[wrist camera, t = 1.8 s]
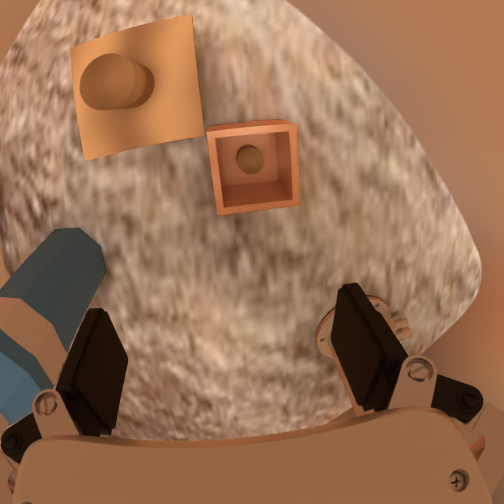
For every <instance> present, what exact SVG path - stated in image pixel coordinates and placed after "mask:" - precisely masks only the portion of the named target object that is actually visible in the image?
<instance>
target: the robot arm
mask: <svg viewBox="0 0 504 504" xmlns="http://www.w3.org/2000/svg"><path fill="white" fill-rule="evenodd" d="M407 326H408V321H407V319H406V318H405V319H401V320H398V321H393V320H392V319H391V312H390V310H389V307H388V306H387V305H386V303H385V302H384V301H382V300H381V299H379V298H376V297H371V296H366V295H365V293H364V292H363V290H362V289H361V287H360V286H359V284H358V283H350V284H344V285H343V286H342V288H340V289H339V290H338V295H337V301H336V308H335V309H333V310H332V311H331V312H330V313H329V314H328V315H327V316H326V317H325V318H324V319H323V320H322V322H321V324H320V325H319V327H318V330H317V332H316V343H317V346H318V349H319V350H320V352H321V353H322V354H323V355H325V356H326V357H329V358H332V359H334V361H335V363H336V366H337V368H338V370H339V373H340V375H341V378H342V380H343V383H344V385H345V388H346V390H347V393H348V396H349V398H350V401H351V403H352V406H353V408H354V410H355V413H356V416H357V417H355V418H351V419H347V420H343V421H338V422H334V423H329V424H325V425H321V426H316V427H311V428H306V429H300V430H295V431H289V432H283V433H276V434H269V435H262V436H253V437H244V438H233V439H220V440H201V441H150V440H131V439H117V438H106V437H100V434H104V435H111V432H112V429H114V428H115V426H116V420H117V415H118V409H119V404H120V398H121V393H122V388H123V383H124V379H125V374H126V369H127V365H128V357H127V354H126V352H125V350H124V348H123V346H122V344H121V341H120V339H119V337H118V335H117V333H116V331H115V328H114V326H113V324H112V322H111V319H110V317H109V315H108V313H107V312H106V311H104V310H103V309H102V308H90V309H88V311H87V313H86V315H85V317H84V319H83V322H82V324H81V326H80V328H79V331H78V333H77V335H76V338H75V340H74V342H73V345H72V347H71V350H70V352H69V354H68V357H67V359H66V362H65V365H64V367H63V370H62V372H61V375H60V378H59V381H58V383H57V387H56V390H54V389H45V390H42V391H41V392H39V393H38V394H37V395H36V396H35V398H34V400H33V402H32V411H33V412H32V413H31V414H29V415H28V416H26V417H25V418H23V419H22V420H20V421H19V422H17V423H15V424H14V425H12V426H11V427H9V428H8V429H7V430H6V431H4V433H3V434H2V437H1V442H0V445H1V449H0V504H493V503H492V500H491V496H492V494H493V493H494V491H495V489H496V487H497V485H498V484H499V482H500V480H501V478H502V476H503V474H504V412H502V411H501V410H499V409H498V408H496V407H495V406H493V405H492V404H490V403H489V402H488V403H487V404H485V403H483V397H482V394H481V393H480V391H479V390H478V389H477V388H475V387H473V386H471V385H468V384H465V383H462V382H459V381H456V380H453V379H450V378H447V377H444V376H442V375H439V374H437V368H436V366H435V364H434V363H433V361H432V360H430V359H429V358H427V357H425V356H422V355H412V356H410V357H408V355H407V353H406V352H405V350H404V348H403V347H402V345H401V344H400V342H399V340H403V339H406V338H409V337H410V336H411V330H410V328H409V327H407ZM399 328H400V329H399ZM397 329H398V330H397Z"/></svg>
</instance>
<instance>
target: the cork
mask: <svg viewBox="0 0 504 504" xmlns="http://www.w3.org/2000/svg"><path fill="white" fill-rule="evenodd" d="M236 160H237V163H238V165H239V168H240V169H241V170H242V171H243V172H244V173H246V174H255V173H258V172H259V171H260V170H261V169H262V168H263V166H264V157H263V155H262V153H261V152H260V151H259V150H258V149H257V148H256V147H255V146H253V145H249V144H248V145H243V146H241V147H240V148H239V149H238V151H237V153H236Z"/></svg>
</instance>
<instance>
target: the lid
mask: <svg viewBox="0 0 504 504" xmlns="http://www.w3.org/2000/svg"><path fill="white" fill-rule="evenodd" d="M70 51H71V67H72V78H73V88H74V97H75V105H76V112H77V119H78V125H79V131H80V137H81V142H82V147H83V152H84V157H85V161H87V160H91V159H94V158H98V157H102V156H106V155H109V154H113V153H118V152H122V151H126V150H130V149H135V148H139V147H144V146H149V145H154V144H159V143H164V142H169V141H175V140H181V139H187V138H193V137H200V136H205V129H204V121H203V113H202V104H201V96H200V87H199V78H198V68H197V59H196V49H195V38H194V28H193V18H192V15H188V16H182V17H176V18H171V19H166V20H161V21H156V22H152V23H148V24H144V25H140V26H136V27H132V28H129V29H125V30H122V31H118V32H115V33H112V34H109V35H106V36H103V37H100V38H97V39H94V40H91V41H89V42H86V43H83V44H81V45H78V46H76V47H73V48H71V49H70Z"/></svg>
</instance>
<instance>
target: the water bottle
mask: <svg viewBox="0 0 504 504" xmlns="http://www.w3.org/2000/svg"><path fill="white" fill-rule="evenodd" d="M105 273H106V268H105V264H104V260H103V255H102V251H101V246H100V245H99V244H97V243H96V242H95V241H94V240H93V239H91V238H90V237H89V236H88V235H87V234H86V233H84V232H83V231H82V230H81V229H80V228H66V229H55V230H54V231H53V232H52V233H51V234H50V235H49V236H48V237H47V238H46V239H45V240H44V241H43V242H42V243H41V244H40V245H39V246H38V247H37V249H36V250H35V251H34V252H33V253H32V254H31V255H30V256H29V257H28V258H27V259H26V260H25V261H24V263H23V264H22V265H21V266H20V267H19V268H18V269H17V270H16V272H15V273H14V274H13V275H12V276H11V277H10V279H9V280H8V281H7V282H6V283H5V285H4V286H3V287H2V288H1V289H0V442H1V437H2V434H3V433H4V431H6V430H7V427H8V426H9V425H11V424H13V423H15V422H18V421H20V420H22V419H23V418H25V417H26V416H28V415H29V414H31V413H32V412H33V411H32V402H33V400H34V398H35V396H36V395H37V394H38V393H39V392H41V391H42V390H45V389H53V387H54V384H55V381H56V379H57V376H58V374H59V371H60V369H61V366H62V364H63V361H64V359H65V356H66V354H67V351H68V349H69V347H70V344H71V342H72V340H73V338H74V335H75V333H76V331H77V329H78V327H79V324H80V322H81V320H82V318H83V316H84V314H85V312H86V310H87V308H88V306H89V304H90V302H91V300H92V298H93V296H94V294H95V292H96V290H97V288H98V286H99V284H100V282H101V280H102V278H103V277H104V275H105Z"/></svg>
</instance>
